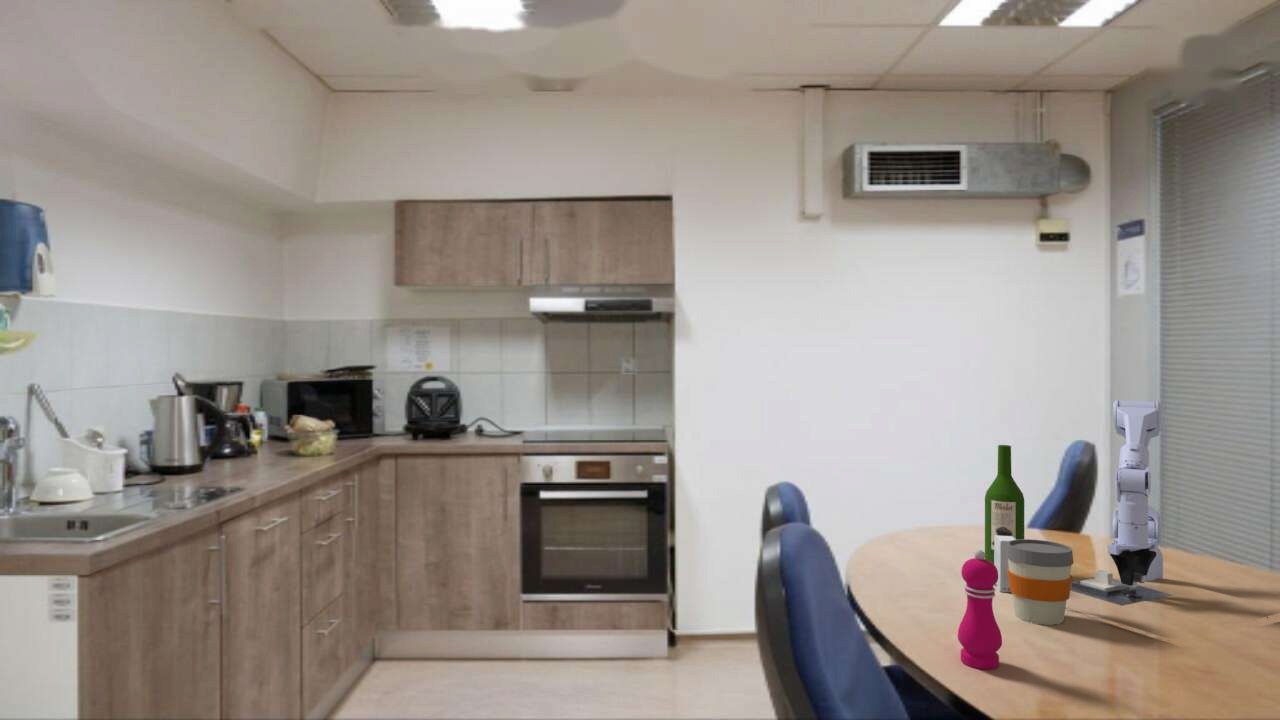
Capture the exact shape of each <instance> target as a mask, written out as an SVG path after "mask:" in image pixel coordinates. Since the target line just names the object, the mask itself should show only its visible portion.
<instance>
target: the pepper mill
mask: <svg viewBox="0 0 1280 720" xmlns="http://www.w3.org/2000/svg"><path fill="white" fill-rule="evenodd" d="M973 554H974V558H970V559H967V560H966V561H965V562H964V563H963V564H962V567H961V572H960V573H961V577H962V579H963V580H964V582H965V584H964V594H965V595H966V597H967V601H966V602H967V603H966V609H965V613H964V616H963V617H962V620H961V622H960V624H959V627H958V631H957V640H958V642H959V643H960V644H961V646H962V648H961V649H960V661H961V662H962V664H963V665H966V666H967V667H971V668H974V669H977V670H978V669H979V670H995V669H998V668H999V666H1000V654H998V653H997V652H998V651H999V650H1000V649H1001V647H1002V645H1003V636H1002V633H1001V629H1000V627H999V625H998V623H997V620H996V618H995V615H994V614H995V613H994V609H993V599H994V598H995V597H996V592H995V591H996V587H995V584H997V581H998V570H997V568H996V566H995V565H994V564H993V563H992V562H990V561H988V560H986V559H985V551H983V550H981V549H977V550H975V551H974V553H973Z"/></svg>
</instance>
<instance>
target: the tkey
mask: <svg viewBox="0 0 1280 720" xmlns="http://www.w3.org/2000/svg"><path fill="white" fill-rule="evenodd" d="M1115 580H1116V579H1115ZM1115 580H1113V581H1111V584H1115V585H1119V586H1122V587H1126V588H1129V593H1130V594H1137V585H1138V583H1139V582H1144V583H1147V581H1146V575H1142V574H1138V573H1134V581H1133V585H1131V586H1130V585H1126V584H1122V583H1121V582H1119V581H1120V580H1119V581H1115ZM1137 581H1139V582H1137Z"/></svg>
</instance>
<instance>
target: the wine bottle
mask: <svg viewBox="0 0 1280 720" xmlns="http://www.w3.org/2000/svg"><path fill="white" fill-rule="evenodd" d="M995 535H998V536H1012V537H1014V538H1015V539H1016V540H1018V539H1025V497H1024V493H1023V492H1022V490H1021V489H1020V487H1019V486H1018V484H1017V482H1016V481H1015V480H1014V478H1013V476H1012V445H1009V444H1006V445H1005V444H998V445H997V475H996V476H995V479H994V480H993V481H992V483H991V485H990V486H989V487H988V488H987V490H986V492H985V496H984V553H985V558H984V559H986V560H988V561H990V562H992V563H993V564H994V536H995Z"/></svg>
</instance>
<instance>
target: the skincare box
mask: <svg viewBox="0 0 1280 720" xmlns="http://www.w3.org/2000/svg"><path fill="white" fill-rule="evenodd" d="M1011 540H1016V539H1015V538H1014V537H1012V536H998V535H995V536H994V565H995V566H996V568H997V570H998V581H997V583H996V584H995V585H994V587H995V588H996V589H998V591H999V592H1000V593H1011V591H1010V587H1009V579H1008V572H1007V569H1008V568H1009V564H1008V558H1007V557H1006V550H1007V542H1008V541H1011Z"/></svg>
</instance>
